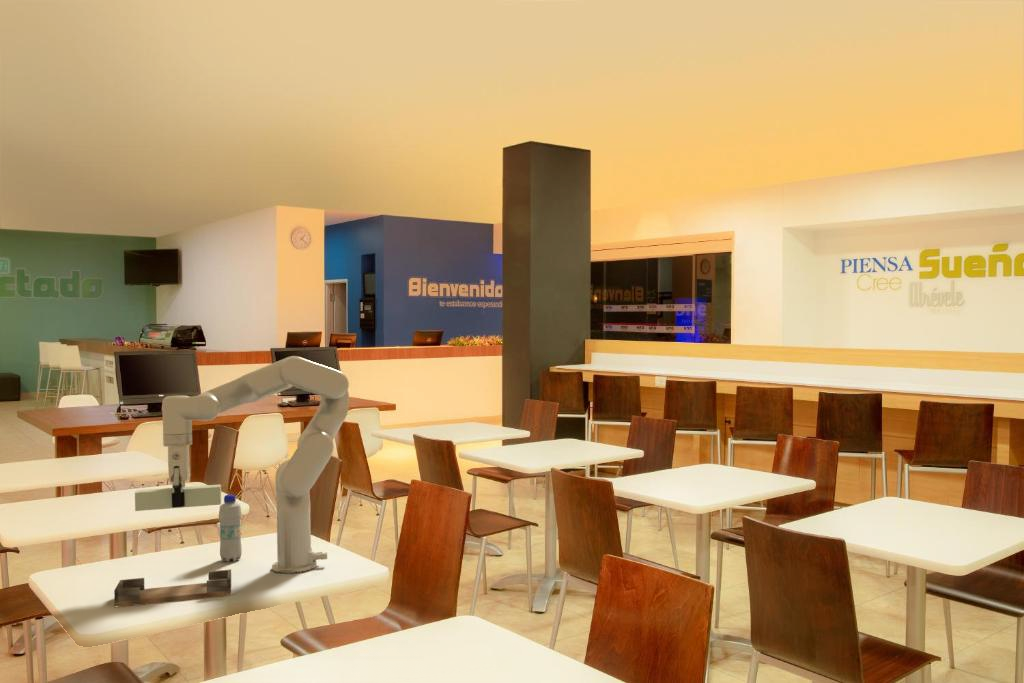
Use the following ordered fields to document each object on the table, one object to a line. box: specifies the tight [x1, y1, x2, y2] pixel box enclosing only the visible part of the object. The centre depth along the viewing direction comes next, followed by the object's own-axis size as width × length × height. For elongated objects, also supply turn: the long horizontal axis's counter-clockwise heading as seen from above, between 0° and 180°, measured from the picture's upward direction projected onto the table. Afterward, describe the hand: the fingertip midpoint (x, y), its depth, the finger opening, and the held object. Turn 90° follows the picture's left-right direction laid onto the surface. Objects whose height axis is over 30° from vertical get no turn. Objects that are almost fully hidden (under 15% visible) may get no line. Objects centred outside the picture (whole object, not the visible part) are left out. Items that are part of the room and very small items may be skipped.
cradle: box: [113, 568, 232, 607], centre depth 214 cm, size 28×10×4 cm, turn 108°
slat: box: [134, 484, 222, 512], centre depth 228 cm, size 22×4×5 cm, turn 107°
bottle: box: [218, 493, 243, 563], centre depth 248 cm, size 7×7×20 cm
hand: (179, 504), depth 228 cm, fingers closed on slat, 4 cm apart
